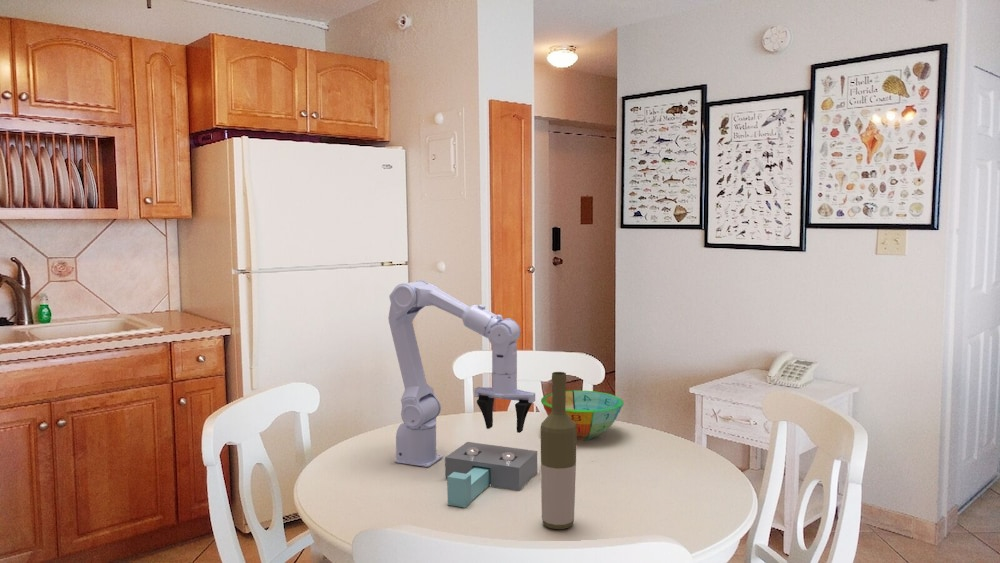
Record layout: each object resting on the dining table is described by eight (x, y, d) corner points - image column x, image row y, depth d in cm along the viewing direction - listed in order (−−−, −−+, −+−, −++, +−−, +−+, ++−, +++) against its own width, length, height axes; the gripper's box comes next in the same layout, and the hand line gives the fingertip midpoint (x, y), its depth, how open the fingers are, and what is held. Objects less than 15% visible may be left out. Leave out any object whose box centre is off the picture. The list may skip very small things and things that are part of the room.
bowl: (629, 449, 183) (630, 411, 183) (542, 449, 184) (542, 411, 183) (616, 424, 206) (617, 390, 205) (539, 423, 206) (539, 389, 205)
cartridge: (447, 504, 148) (447, 476, 148) (477, 479, 162) (477, 454, 161) (465, 507, 147) (464, 479, 146) (493, 482, 160) (493, 456, 160)
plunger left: (464, 461, 164) (464, 450, 164) (469, 457, 167) (469, 446, 167) (475, 462, 163) (475, 451, 163) (480, 459, 166) (480, 448, 166)
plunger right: (500, 466, 161) (500, 455, 161) (505, 462, 164) (505, 451, 163) (511, 468, 160) (511, 456, 160) (516, 464, 163) (516, 453, 162)
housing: (445, 479, 163) (445, 457, 162) (467, 462, 174) (467, 441, 173) (519, 490, 156) (519, 467, 155) (537, 472, 167) (537, 451, 166)
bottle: (542, 515, 143) (543, 368, 140) (577, 518, 142) (579, 370, 139) (537, 530, 136) (538, 376, 133) (573, 534, 135) (575, 378, 132)
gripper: (468, 373, 164) (468, 430, 165) (528, 378, 158) (527, 438, 159) (481, 366, 170) (481, 422, 171) (538, 372, 164) (538, 429, 166)
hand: (504, 429), depth 166 cm, fingers open, 7 cm apart
